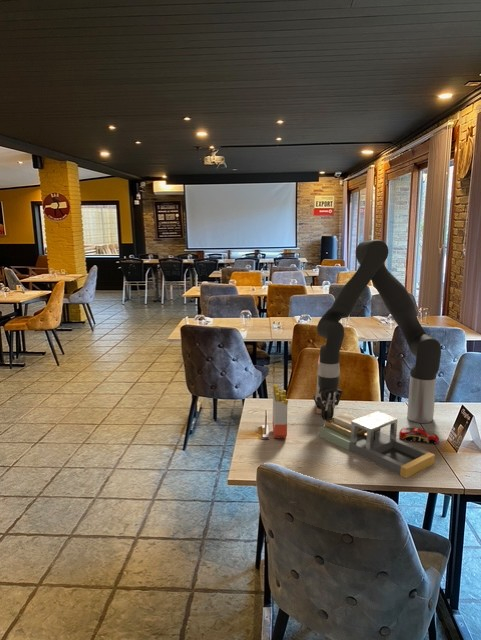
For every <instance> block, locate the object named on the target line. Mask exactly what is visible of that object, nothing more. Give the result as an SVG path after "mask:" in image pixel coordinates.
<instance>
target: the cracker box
mask: <svg viewBox="0 0 481 640" xmlns="http://www.w3.org/2000/svg"><path fill="white" fill-rule="evenodd" d="M319 362H320V354H319V355H318V361H317V373H316V395H315V396H317V395H318V394H319V390H320V387H319V385H318V372H319ZM324 407H325V404H324ZM321 411H322V410H321V409H318V408H317V406H316V405H315V414H319V415H321Z"/></svg>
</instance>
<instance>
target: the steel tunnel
mask: <svg viewBox="0 0 481 640" xmlns="http://www.w3.org/2000/svg"><path fill="white" fill-rule="evenodd" d="M357 418H358V417H357ZM398 419H399V418H397V417H394V416H392V415H389V414H387V413H383V412H382V411H379V410H376V411H375V412H373V413H369V414H367V415H366V414H365V415H363V416H361V417H359V418H358V419H355V420H353V421H351V438H350V442H352V443H356V442H357V429H358V427H360V428H362V429H365V430H367V440H366V449H367V450H369V451H371V450H373V436H374V431H375V430H376V432H375V433H377V434H378V433H380V432H381V429H383V428H384V427H387V426H388V425H389V426H390V429H389V436H390V439H391V440H396V439H397V432H398Z"/></svg>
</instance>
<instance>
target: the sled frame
mask: <svg viewBox="0 0 481 640" xmlns="http://www.w3.org/2000/svg"><path fill="white" fill-rule="evenodd" d="M324 426H326V427H328V428H330V429H332V430H335V431H337V432H339V433H341V434H343V435H346V436H348V437H350V438H351V431H350V430H348V429H346V428H344V427H341V426H339V425H337V424H335V423H334V417H333V418H331V404H330V403H329V405H328V419H327V420H324ZM375 432H376V430H375V431H374V436H373V440H375ZM361 436H363V437H365V438H367V430H365V429H361V430H358V431H357V438H359V437H361Z"/></svg>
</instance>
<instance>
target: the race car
mask: <svg viewBox="0 0 481 640" xmlns="http://www.w3.org/2000/svg"><path fill="white" fill-rule="evenodd" d="M398 433H399V434H398V436H399V438H400V440H402V441H406V442H415V443H423V444H429V445H435V444H438V443H439V441H440V437H439V436H438V435H437V434H435V433H433V432H431V431H426V430H425V429H422V428H420V427H404V428H401V429H400V431H399V432H398Z"/></svg>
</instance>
